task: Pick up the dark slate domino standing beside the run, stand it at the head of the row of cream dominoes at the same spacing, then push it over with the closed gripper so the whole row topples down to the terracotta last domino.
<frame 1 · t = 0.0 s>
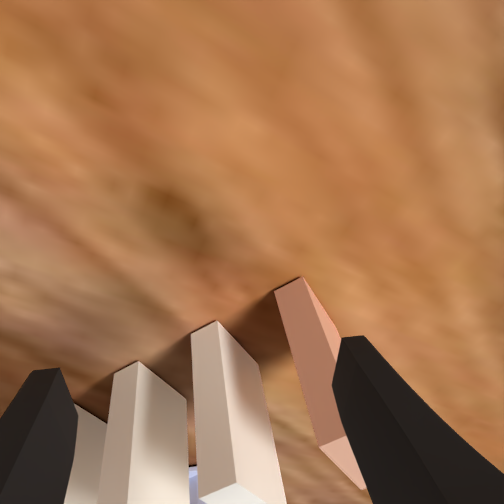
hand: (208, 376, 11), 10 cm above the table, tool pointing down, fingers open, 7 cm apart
last domino: (306, 310, 24), on the table
domino 1: (83, 421, 27), on the table
domino 3: (226, 350, 25), on the table
domino 2: (152, 387, 26), on the table
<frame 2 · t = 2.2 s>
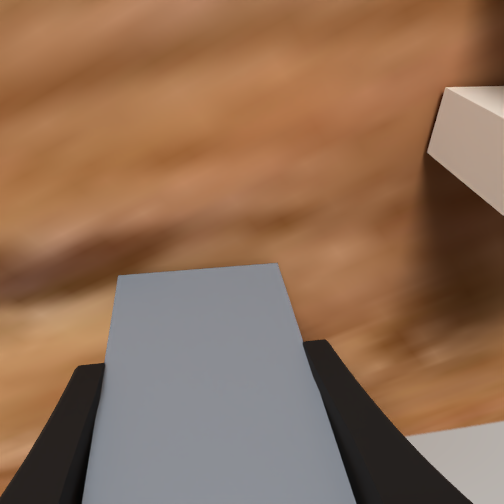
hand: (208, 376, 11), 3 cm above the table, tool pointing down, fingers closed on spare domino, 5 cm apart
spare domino: (201, 290, 14), on the table, touching gripper
when the fingers open (4 cm above the table, at t = 5.9 s): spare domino stays where it is, on the table.
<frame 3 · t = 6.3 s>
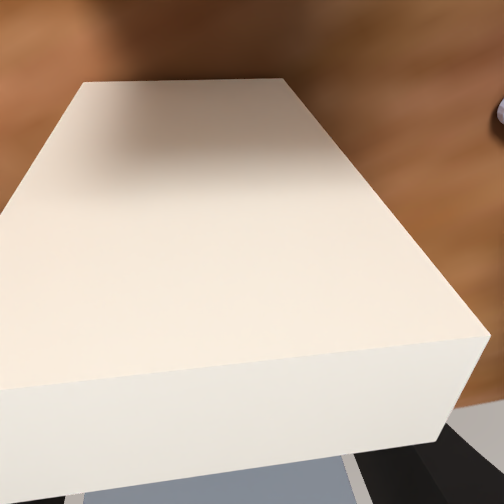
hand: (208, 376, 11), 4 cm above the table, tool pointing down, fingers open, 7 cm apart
domino 1: (188, 115, 11), on the table
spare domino: (200, 275, 14), on the table
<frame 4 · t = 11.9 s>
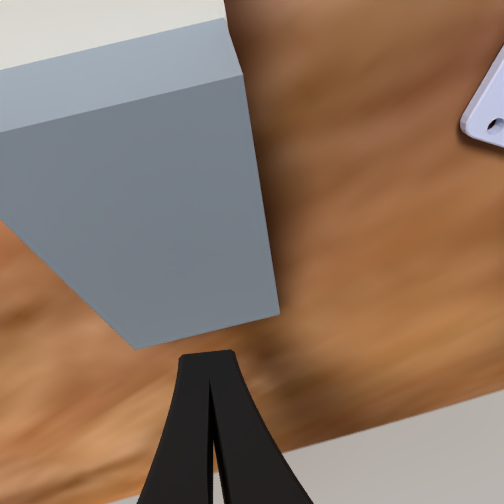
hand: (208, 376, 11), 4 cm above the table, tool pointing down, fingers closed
domino 1: (150, 159, 11), point 1 cm above the table, tilted 71°, touching domino 2, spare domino
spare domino: (203, 308, 14), point 1 cm above the table, tilted 71°, touching domino 1
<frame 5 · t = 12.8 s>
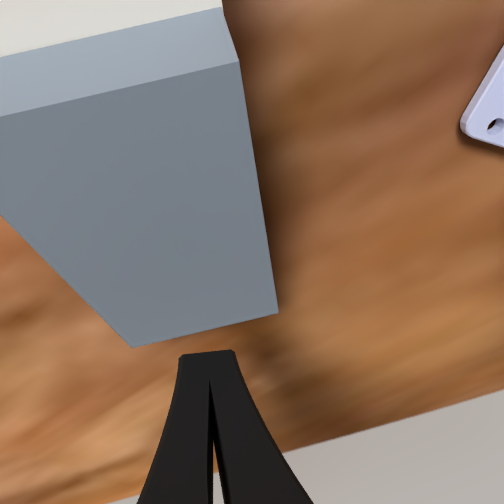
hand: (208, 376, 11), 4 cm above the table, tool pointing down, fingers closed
domino 1: (143, 149, 11), point 1 cm above the table, tilted 71°, touching domino 2, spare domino
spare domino: (201, 306, 14), point 1 cm above the table, tilted 72°, touching domino 1
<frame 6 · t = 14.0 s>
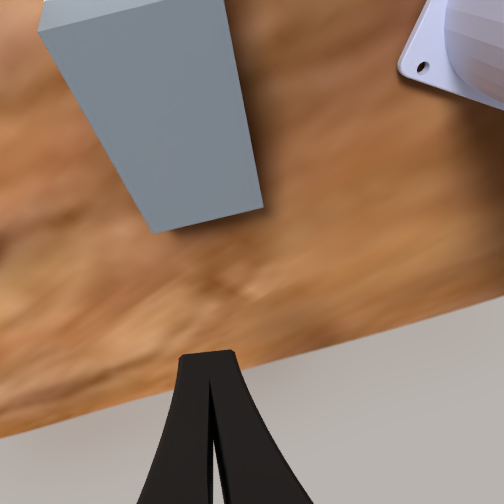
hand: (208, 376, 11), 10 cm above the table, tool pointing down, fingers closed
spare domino: (205, 205, 19), point 1 cm above the table, tilted 73°, touching domino 1
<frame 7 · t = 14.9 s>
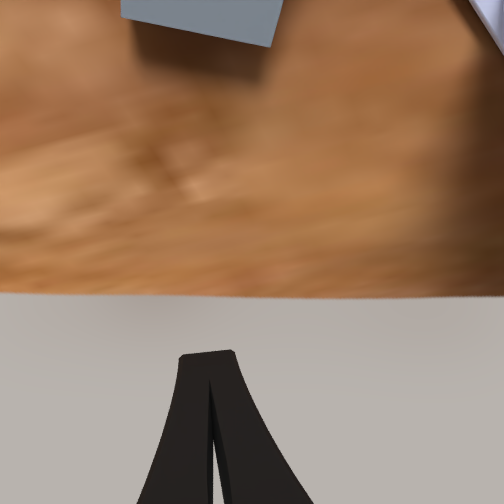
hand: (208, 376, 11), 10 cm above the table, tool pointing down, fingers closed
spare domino: (198, 20, 15), point 1 cm above the table, tilted 74°, touching domino 1
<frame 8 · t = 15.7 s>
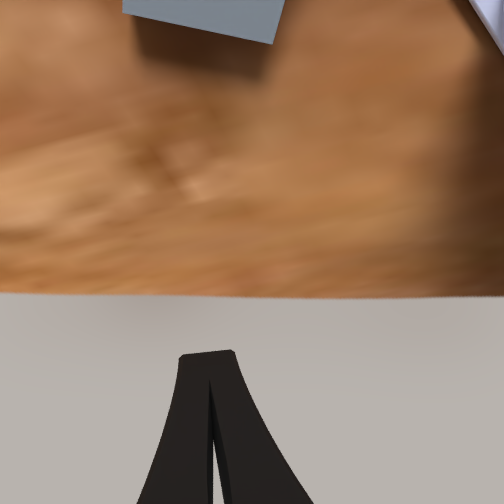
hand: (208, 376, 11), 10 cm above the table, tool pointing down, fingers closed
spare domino: (200, 17, 14), point 1 cm above the table, tilted 74°, touching domino 1
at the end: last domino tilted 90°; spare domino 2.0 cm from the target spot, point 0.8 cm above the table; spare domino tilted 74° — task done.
